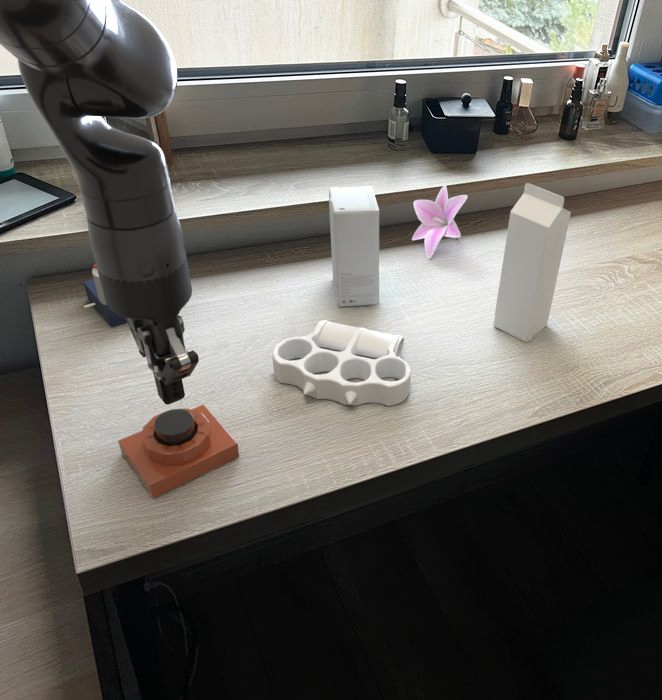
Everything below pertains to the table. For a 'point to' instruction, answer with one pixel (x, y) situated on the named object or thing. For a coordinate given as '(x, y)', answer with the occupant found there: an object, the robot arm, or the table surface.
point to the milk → (531, 262)
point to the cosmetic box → (354, 245)
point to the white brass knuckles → (344, 365)
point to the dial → (98, 285)
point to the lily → (437, 219)
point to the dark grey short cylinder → (175, 427)
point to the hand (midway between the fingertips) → (172, 397)
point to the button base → (178, 453)
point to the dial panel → (102, 305)
